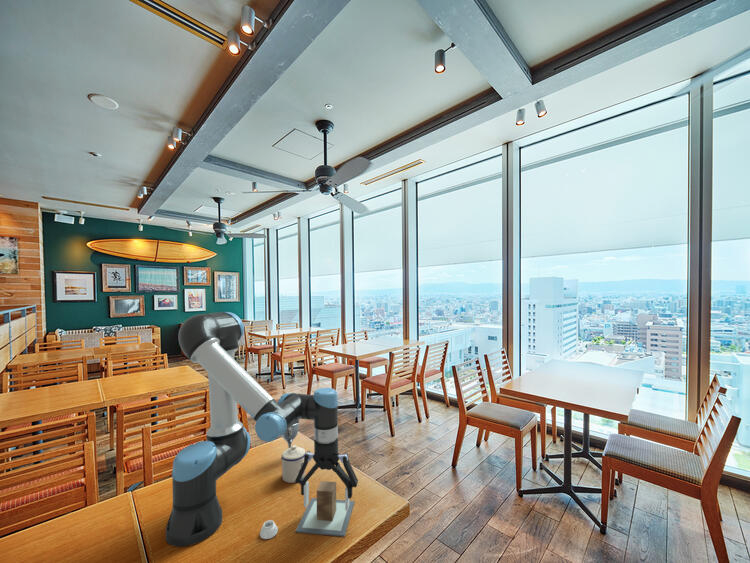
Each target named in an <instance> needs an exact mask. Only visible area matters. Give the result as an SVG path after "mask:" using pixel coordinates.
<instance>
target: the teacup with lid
mask: <svg viewBox="0 0 750 563" xmlns="http://www.w3.org/2000/svg"><path fill="white" fill-rule="evenodd" d="M306 453H307V452H306V450H305V449H304V448H303V447H300V446H297V445H296V444H293V445H292V444H291V448H289V447H288V448H287V449H285V450H284V451H283V452H282V454H281V457H282V459H281V462H282V464H281V466H282V468H281V469H282V476H281V477H282V480H283V481H284V482H285V483H290V484H291V483H295V480H296V478H297V476H298V474H299V471H300V469H301V467H302V465H303V463H304V457H305V455H306ZM305 476H306V470H305V471H304V473H303V475H302V478H304V477H305Z"/></svg>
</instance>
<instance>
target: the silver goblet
mask: <svg viewBox="0 0 750 563" xmlns="http://www.w3.org/2000/svg"><path fill="white" fill-rule="evenodd" d="M299 429H300V419H299V420H298V421H297V422H296V423H295V424H294V425H292V426H291V427H290V428H289V429H288V430H286V431H285V433H284V434H282V435H281V437H282V438H283V440H284V441H285V442H286V443H287V445H288V449H289V448H291V446H292V443H293V441H294V440H295V439H296V437H297V436H298V433H299ZM280 459H281V460H282V456H281V458H280Z"/></svg>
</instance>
